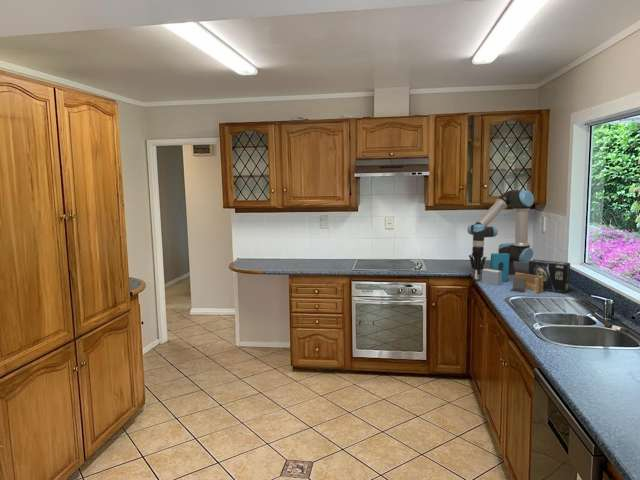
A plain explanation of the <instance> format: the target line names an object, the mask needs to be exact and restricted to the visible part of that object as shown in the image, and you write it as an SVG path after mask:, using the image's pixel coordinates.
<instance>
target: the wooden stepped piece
mask: <svg viewBox="0 0 640 480" xmlns="http://www.w3.org/2000/svg"><path fill="white" fill-rule="evenodd" d="M514 278H518V279H524V280H526V288H525V290H528V291H529V290H530V291H533V294H534V295H537V294H539V293H540V294H541V293H543V292H544V291H543V284H544V277H543V276H537V275H530V274H528V273H523V272H517V271H516V273H515V274H514Z"/></svg>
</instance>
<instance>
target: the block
mask: <svg viewBox="0 0 640 480" xmlns="http://www.w3.org/2000/svg"><path fill="white" fill-rule="evenodd" d="M509 257H510V254H507V253H497V252H496V253H494V252H493V253H490V266H489V267H490V268H489V269H492V270H498V268H499V263H500V262H501V271H502V283H507V279H508V276H509V275H510V274H509Z"/></svg>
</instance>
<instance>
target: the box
mask: <svg viewBox="0 0 640 480" xmlns="http://www.w3.org/2000/svg"><path fill="white" fill-rule="evenodd" d="M570 270H571V262H564V261H563V262H562V261H556V260H555V261H553V260H545V259H544V260H543V259H531V260H530V261H529V262H528V273H527V274H530V275H537V276H543V277H544V284H543V292H552V293H558V294H566V293H569V291H570V275H571V274H570V273H571V271H570Z"/></svg>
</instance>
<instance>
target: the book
mask: <svg viewBox="0 0 640 480" xmlns="http://www.w3.org/2000/svg"><path fill="white" fill-rule="evenodd" d="M481 272H482V273H481V284H483V285H484V284H485V285H489V286H495V287H499V286H502V283H503V282H502V271H499V270H492V269H490V268H483V269H482V271H481Z"/></svg>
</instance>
